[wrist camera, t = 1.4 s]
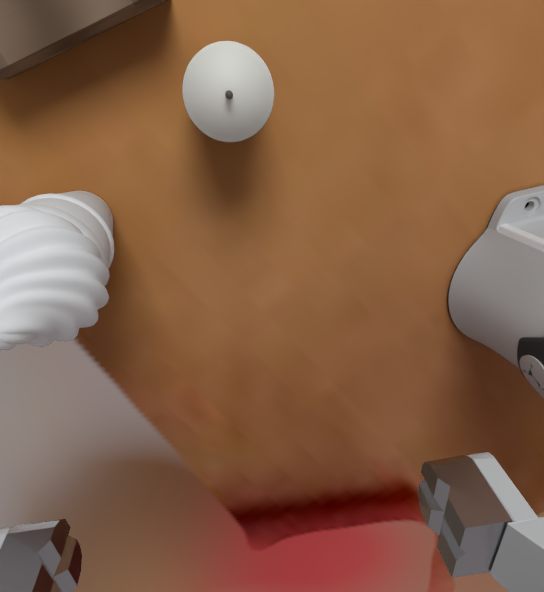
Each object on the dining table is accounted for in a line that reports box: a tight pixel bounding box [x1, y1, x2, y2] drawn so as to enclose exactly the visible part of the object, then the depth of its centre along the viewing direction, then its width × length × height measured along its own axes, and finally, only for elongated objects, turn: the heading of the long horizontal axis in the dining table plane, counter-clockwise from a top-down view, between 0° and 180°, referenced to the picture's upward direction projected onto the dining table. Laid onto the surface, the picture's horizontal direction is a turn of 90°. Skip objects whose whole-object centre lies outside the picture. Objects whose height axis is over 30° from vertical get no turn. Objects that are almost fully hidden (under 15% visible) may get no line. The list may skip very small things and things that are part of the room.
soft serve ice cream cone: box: [0, 191, 114, 350], centre depth 25 cm, size 8×8×16 cm
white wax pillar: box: [183, 41, 274, 142], centre depth 26 cm, size 5×5×8 cm
